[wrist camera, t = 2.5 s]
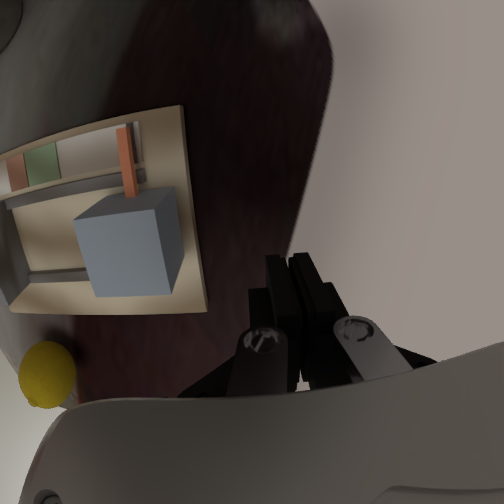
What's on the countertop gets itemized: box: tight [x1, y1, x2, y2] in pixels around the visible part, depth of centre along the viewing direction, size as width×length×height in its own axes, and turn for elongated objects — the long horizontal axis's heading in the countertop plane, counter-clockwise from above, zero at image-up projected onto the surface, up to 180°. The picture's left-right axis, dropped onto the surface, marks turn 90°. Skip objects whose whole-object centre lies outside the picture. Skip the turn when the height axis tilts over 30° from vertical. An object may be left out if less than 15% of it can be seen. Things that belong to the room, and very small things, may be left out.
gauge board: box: [0, 105, 208, 315], centre depth 16 cm, size 14×20×5 cm
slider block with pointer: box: [72, 127, 185, 297], centre depth 15 cm, size 8×4×4 cm, turn 3°
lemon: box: [18, 341, 76, 409], centre depth 20 cm, size 6×6×8 cm
